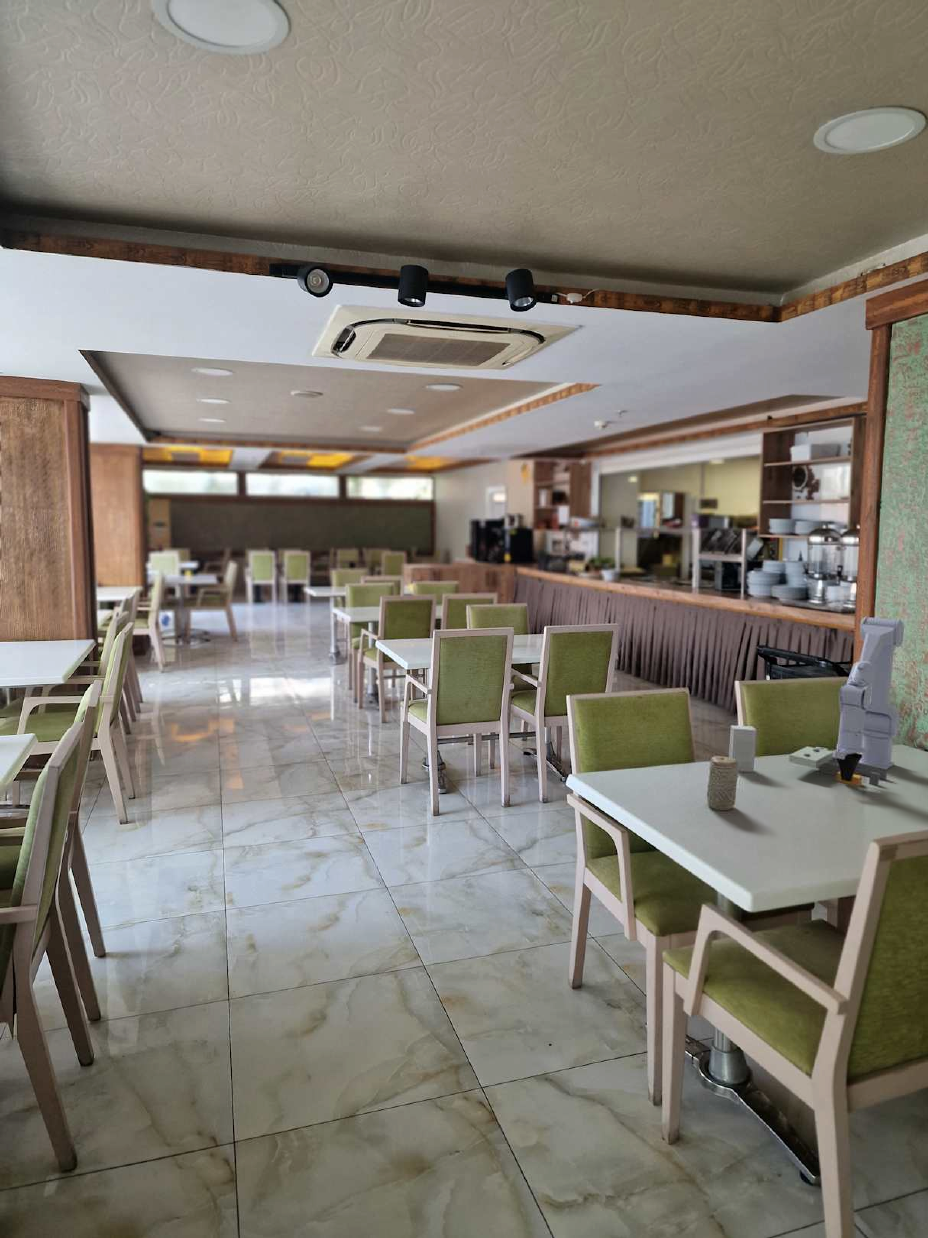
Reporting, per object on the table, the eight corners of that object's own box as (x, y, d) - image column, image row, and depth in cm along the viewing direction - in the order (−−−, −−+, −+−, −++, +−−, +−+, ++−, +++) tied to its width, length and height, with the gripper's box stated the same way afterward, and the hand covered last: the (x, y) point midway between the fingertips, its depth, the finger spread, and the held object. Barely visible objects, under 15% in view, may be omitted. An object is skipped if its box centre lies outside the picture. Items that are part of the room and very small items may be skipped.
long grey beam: (828, 766, 220) (829, 755, 219) (886, 779, 210) (887, 768, 209) (818, 771, 214) (819, 761, 214) (877, 785, 204) (878, 774, 203)
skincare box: (749, 768, 215) (752, 726, 214) (753, 772, 211) (757, 730, 209) (727, 766, 216) (730, 724, 214) (730, 771, 211) (734, 728, 210)
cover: (833, 769, 216) (835, 749, 215) (814, 780, 205) (816, 759, 205) (808, 763, 221) (810, 743, 220) (787, 774, 210) (789, 753, 209)
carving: (701, 807, 182) (704, 758, 180) (714, 800, 188) (717, 752, 186) (727, 815, 178) (731, 764, 176) (739, 807, 183) (743, 758, 182)
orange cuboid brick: (840, 779, 208) (841, 771, 208) (861, 785, 204) (862, 776, 204) (836, 781, 207) (837, 772, 206) (857, 787, 203) (858, 778, 202)
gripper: (858, 738, 194) (853, 790, 196) (876, 728, 204) (871, 778, 206) (829, 732, 199) (824, 783, 200) (848, 723, 209) (843, 771, 211)
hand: (846, 780), depth 203 cm, fingers closed
